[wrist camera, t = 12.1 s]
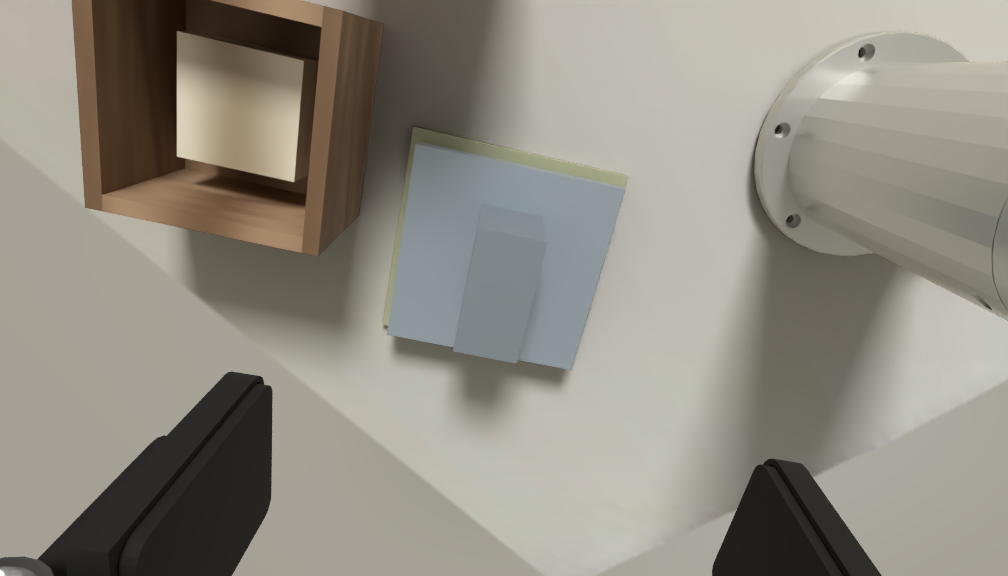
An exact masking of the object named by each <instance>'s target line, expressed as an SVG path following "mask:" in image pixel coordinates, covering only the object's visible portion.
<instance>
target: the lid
mask: <svg viewBox="0 0 1008 576" xmlns="http://www.w3.org/2000/svg"><path fill="white" fill-rule="evenodd" d="M624 193H625V189H624V188H623V187H622V186H619V185H614V184H609V183H605V182H600V181H596V180H591V179H587V178H582V177H578V176H573V175H568V174H564V173H559V172H555V171H550V170H546V169H541V168H537V167H532V166H527V165H523V164H518V163H514V162H509V161H505V160H500V159H496V158H491V157H486V156H482V155H477V154H473V153H468V152H464V151H459V150H455V149H450V148H445V147H441V146H436V145H432V144H427V143H423V142H417V143H416V145H415V152H414V158H413V165H412V172H411V178H410V185H409V191H408V198H407V205H406V211H405V218H404V225H403V231H402V238H401V244H400V251H399V258H398V264H397V271H396V278H395V284H394V291H393V297H392V304H391V311H390V317H389V324H388V331H387V335H392V336H397V337H402V338H407V339H412V340H418V341H423V342H428V343H433V344H438V345H443V346H449V347H453V351H454V352H459V353H464V354H469V355H474V356H480V357H485V358H490V359H495V360H500V361H506V362H511V363H516V364H517V360H521V361H526V362H531V363H537V364H542V365H547V366H552V367H557V368H563V369H568V370H571V369H572V366H573V363H574V359H575V356H576V353H577V349H578V346H579V343H580V339H581V336H582V333H583V329H584V326H585V323H586V319H587V316H588V313H589V309H590V306H591V303H592V299H593V296H594V293H595V289H596V286H597V283H598V279H599V276H600V273H601V269H602V266H603V263H604V259H605V256H606V253H607V249H608V246H609V243H610V239H611V236H612V233H613V229H614V226H615V223H616V219H617V216H618V213H619V209H620V206H621V203H622V199H623V196H624Z"/></svg>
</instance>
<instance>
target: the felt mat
mask: <svg viewBox="0 0 1008 576" xmlns="http://www.w3.org/2000/svg"><path fill="white" fill-rule="evenodd" d="M417 142H423V143H427V144H432V145H436V146H441V147H445V148H450V149H455V150H459V151H464V152H468V153H473V154H477V155H482V156H486V157H491V158H496V159H500V160H505V161H509V162H514V163H518V164H523V165H527V166H532V167H537V168H541V169H546V170H550V171H555V172H559V173H564V174H568V175H573V176H578V177H582V178H587V179H591V180H596V181H600V182H605V183H609V184H614V185H619V186H622V187H623V188H624V189H625V185H626V182H627V179H628V176H627V175H623V174H618V173H614V172H609V171H605V170H601V169H596V168H592V167H588V166H583V165H579V164H575V163H570V162H566V161H562V160H557V159H553V158H549V157H544V156H540V155H535V154H531V153H527V152H522V151H518V150H514V149H509V148H505V147H501V146H496V145H492V144H488V143H483V142H479V141H475V140H470V139H466V138H461V137H457V136H453V135H448V134H444V133H440V132H435V131H431V130H427V129H422V128H418V127H413V130H412V137H411V143H410V150H409V156H408V163H407V169H406V175H405V182H404V188H403V195H402V201H401V208H400V214H399V220H398V227H397V233H396V240H395V246H394V253H393V259H392V265H391V272H390V278H389V285H388V291H387V298H386V304H385V310H384V317H383V323H382V325H387V326H388V324H389V317H390V311H391V304H392V297H393V291H394V284H395V278H396V271H397V264H398V258H399V251H400V244H401V238H402V231H403V225H404V218H405V211H406V205H407V198H408V191H409V185H410V178H411V172H412V165H413V158H414V152H415V145H416V143H417Z"/></svg>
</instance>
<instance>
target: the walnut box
mask: <svg viewBox="0 0 1008 576" xmlns="http://www.w3.org/2000/svg"><path fill="white" fill-rule="evenodd" d="M72 11H73V27H74V42H75V58H76V73H77V89H78V104H79V120H80V135H81V151H82V166H83V182H84V197H85V208H90V209H94V210H99V211H104V212H109V213H113V214H118V215H123V216H128V217H133V218H137V219H142V220H147V221H152V222H156V223H161V224H166V225H171V226H176V227H180V228H185V229H190V230H195V231H200V232H204V233H209V234H214V235H219V236H223V237H228V238H233V239H238V240H243V241H247V242H252V243H257V244H262V245H266V246H271V247H276V248H281V249H286V250H290V251H295V252H300V253H305V254H309V255H314V256H319V255H320V254H321V253H322V252H323V251H324V250H325V249H326V248H327V247H328V246H329V245H330V244H331V243H332V242H333V241H334V240H335V239H336V238H337V237H338V236H339V235H340V234H341V233H342V232H343V231H344V230H345V229H346V228H347V227H348V226H349V225H350V224H351V223H352V222H353V221H354V220H355V219H356V218H357V217H358V216H359V213H360V205H361V197H362V189H363V181H364V173H365V166H366V158H367V150H368V142H369V134H370V126H371V118H372V111H373V103H374V95H375V87H376V79H377V71H378V63H379V56H380V48H381V40H382V32H383V24H381V23H378V22H375V21H372V20H369V19H366V18H363V17H360V16H357V15H354V14H351V13H348V12H345V11H342V10H338V9H334V8H329V7H325V6H321V5H317V4H313V3H309V2H305V1H301V0H72Z"/></svg>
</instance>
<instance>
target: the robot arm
mask: <svg viewBox="0 0 1008 576" xmlns="http://www.w3.org/2000/svg"><path fill="white" fill-rule="evenodd" d="M859 50H861V53H860V55H859V57H858V53H859ZM777 125H779V131H778V132H777V133H775V128H776V127H777ZM754 174H755V181H756V188H757V193H758V196H759V198H760V201H761V204H762V206H763V209H764V210H765V212H766V213H767V215H768V217H769V218H770V220H771V221H772V223H773V224H774V225H775V226H776V227H777V228H778V229H779V230H780V231H781V232H783V233H784V234H785V235H786V236H787V237H789V238H791V239H792V240H794V241H795V242H797V243H798V244H800V245H802V246H804V247H807V248H809V249H811V250H813V251H815V252H820V253H824V254H828V255H833V256H858V255H865V254H872V253H876V254H878V255H880V256H882V257H884V258H886V259H888V260H890V261H892V262H894V263H896V264H898V265H900V266H902V267H904V268H906V269H908V270H909V271H911V272H913V273H915V274H917V275H919V276H921V277H923V278H925V279H927V280H929V281H931V282H933V283H935V284H937V285H939V286H941V287H943V288H945V289H947V290H949V291H951V292H953V293H954V294H956V295H958V296H960V297H962V298H964V299H966V300H968V301H970V302H972V303H974V304H976V305H978V306H980V307H982V308H984V309H986V310H988V311H990V312H992V313H994V314H996V315H997V316H999V317H1001V318H1003V319H1005V320H1007V321H1008V62H969V61H968V59H967V58H966V57H965V56H964V55H963V53H961V52H960V51H958V50H957V49H956V48H954V47H953V46H952V45H950V44H949V43H947V42H946V41H943V40H941V39H938V38H936V37H933V36H930V35H928V34H923V33H916V32H909V31H895V32H882V33H876V34H870V35H864V36H860V37H857V38H855V39H852V40H849V41H846V42H844V43H841V44H839V45H837V46H835V47H833V48H832V49H830V50H828V51H826V52H825V53H823V54H821V55H819V56H818V57H817V58H815V59H814V60H813V61H812V62H810V63H809V64H808V65H807V66H805V67H804V68H803V69H802V70H801V71H799V72H798V73H797V74H796V76H795V77H794V78H793V79H792V80H791V81H790V82H789V83H788V85H787V86H786V87H785V88H784V89H783V90H782V92H781V93H780V95H779V96H778V98H777V99H776V101H775V103H774V104H773V106H772V107H771V109H770V110H769V113H768V115H767V117H766V120H765V122H764V124H763V126H762V129H761V131H760V135H759V139H758V143H757V147H756V151H755V168H754ZM789 216H790V218H789V220H787V221H786V219H787V218H788V217H789ZM271 459H272V388H271V386H268V385H264V381H263V378H262V377H261V376H255V375H249V374H242V373H236V372H228V373H227V374H225V375H224V377H222V379H221V380H220V381H219V382H218V383H217V384H216V385H215V386H214V387H213V388H212V389H211V390H210V391H209V392H208V393H207V394H206V395H205V396H204V397H203V398H202V399H201V401H200V402H199V403H198V404H197V405H196V406H195V407H194V408H193V409H192V410H191V411H190V412H189V413H188V414H187V415H186V416H185V417H184V418H183V419H182V420H181V422H180V423H179V424H178V425H177V426H176V427H175V428H174V429H173V430H172V431H171V432H170V433H169V434H168V435H167V436H162V437H159V438H157V439H156V440H154V441H153V442H152V443H151V444H150V445H149V446H148V447H147V448H146V449H145V450H144V451H143V452H142V453H141V454H140V455H139V456H138V457H137V458H136V459H135V460H134V461H133V462H132V463H131V464H130V465H129V466H128V467H127V468H126V469H125V470H124V471H123V472H122V473H121V474H120V475H119V476H118V477H117V479H115V480H114V481H113V483H111V485H110V486H109V487H108V488H107V489H106V490H105V491H104V492H103V493H102V494H101V495H100V496H99V497H98V498H97V499H96V500H95V501H94V502H93V503H92V504H91V505H90V506H89V507H88V508H87V509H86V510H85V511H84V512H83V513H82V514H81V515H80V516H79V517H78V518H77V519H76V520H75V521H74V522H73V523H72V525H70V526H69V528H67V530H66V531H65V532H64V533H63V534H62V535H61V536H60V537H59V538H58V539H57V540H56V541H55V542H54V543H53V544H52V545H51V546H50V547H49V548H48V549H47V550H46V551H45V552H44V553H43V554H42V555H41V556H40V557H39V558H38V559H32V558H28V557H4V558H0V576H232V574H233V572H234V571H235V569H236V567H237V565H238V564H239V562H240V560H241V558H242V556H243V555H244V553H245V551H246V549H247V548H248V546H249V544H250V542H251V540H252V539H253V537H254V535H255V534H256V532H257V530H258V528H259V526H260V525H261V523H262V521H263V519H264V518H265V516H266V514H267V511H268V508H269V505H270V500H271V466H272V463H271V462H272V461H271ZM712 576H881V574H880V573H879V571H878V570H877V568H876V567H875V566H874V564H873V563H872V561H871V560H870V559H869V557H868V556H867V554H866V553H865V552H864V550H863V549H862V547H861V546H860V544H859V543H858V541H857V540H856V539H855V537H854V536H853V534H852V533H851V531H850V530H849V529H848V527H847V526H846V524H845V523H844V522H843V520H842V519H841V517H840V516H839V514H838V513H837V512H836V510H835V509H834V507H833V506H832V505H831V503H830V502H829V500H828V499H827V497H826V496H825V495H824V493H823V492H822V490H821V489H820V487H819V486H818V485H817V483H816V482H815V480H814V479H813V477H812V476H811V475H810V473H809V472H808V470H807V469H806V468H805V467H804V466H803V465H802V464H800V463H796V462H789V461H783V460H777V459H768V460H767V461H765V463H764V464H763V465H758V466H757V467H756V468H755V469H754V471H753V474H752V476H751V478H750V481H749V483H748V485H747V488H746V490H745V492H744V495H743V497H742V499H741V501H740V504H739V506H738V508H737V511H736V513H735V515H734V518H733V520H732V522H731V525H730V527H729V529H728V532H727V534H726V536H725V539H724V541H723V543H722V545H721V548H720V550H719V552H718V555H717V557H716V559H715V562H714V565H713V570H712Z"/></svg>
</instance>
